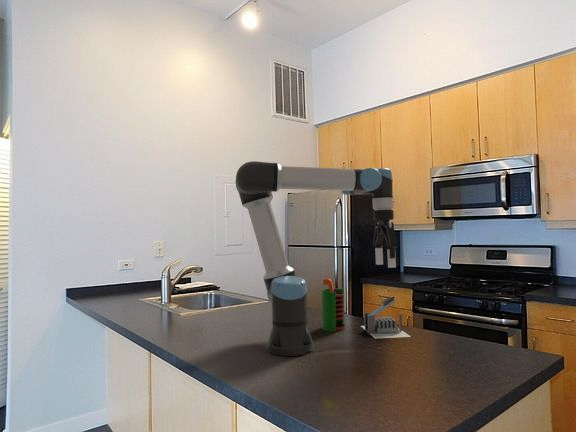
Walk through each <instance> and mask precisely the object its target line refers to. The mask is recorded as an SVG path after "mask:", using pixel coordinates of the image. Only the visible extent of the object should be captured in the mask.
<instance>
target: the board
mask: <svg viewBox="0 0 576 432" xmlns="http://www.w3.org/2000/svg"><path fill="white" fill-rule="evenodd" d="M360 327H361V328H362V329H363V330H364V331H365V325H360ZM366 333H368V331H366ZM369 335H370V336H371V337H372V338H374V339H392V338H393V339H394V338H395V339H396V338H412V337H411V335H409V334H408V333H406V332H405V331H404V330H402V331H400V330H399V333H392V334H376V333H371V334H369Z"/></svg>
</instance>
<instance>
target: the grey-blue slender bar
mask: <svg viewBox="0 0 576 432" xmlns="http://www.w3.org/2000/svg"><path fill="white" fill-rule="evenodd" d="M395 302H396V301H395V299H394V297H392V296H389V297H387V298H386V299H384V300H383V301H381V304H382V305H380V306H379V307H377V308H376V309H375V310H373V311H372V312H369V313H370V314H367V315H366V316H367V318H368V315H375V317H377V315H378V314H380V313H381V312H383V311H384V310H386V309H387V308H389V307H390V306H391V305H393V304H394V303H395Z"/></svg>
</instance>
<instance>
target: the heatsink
mask: <svg viewBox="0 0 576 432" xmlns="http://www.w3.org/2000/svg"><path fill="white" fill-rule="evenodd" d="M375 333H376V334H392V333H399V326H397V320H396V319H394V318H393V317H391V316H389V315H388V316H380V317H378V316H375Z"/></svg>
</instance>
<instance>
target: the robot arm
mask: <svg viewBox="0 0 576 432" xmlns="http://www.w3.org/2000/svg"><path fill="white" fill-rule="evenodd" d="M235 188H236V190H237V191H238V194H239V195H238V196H239V198H240V203H241V205H242V207H244V208H245V209H247V212H248V215H249V218H250V221H251V226H252V229H253V232H254V235H255V239H256V242H257V246H258V248H259V252H260V256H261V259H262V262H263V267H264V270H265V274H264V275H263V281H264V286H265V290H266V295H267V298H268V301H269V303H271V324H272V325H271V329H270V334H269V337H268V341H267V352H269V353H270V354H272V355H275V356H281V357H282V356H283V357H293V356H295V357H296V356H303V355H306V354H310V353H312V349H313V348H314V341H313V338H312V336H311V332H310V329H309V326H308V303H307V302H308V298H307V297H308V296H307V292H308V287H307V281H306V280H305V279H304V278H303V277H299V276H297V275H296V272H295V269H294V268H293V267H292V266H290V265H289V262H288V259H287V256H286V252H285V249H284V246H283V242H282V239H281V236H280V232H279V228H278V225H277V221H276V217H275V214H274V211H273V207H272V203H271V202H272V200H273V198H274V196H273V192H274V193H275V192H278V191H279V190H311V191H312V190H314V191H315V190H316V191H318V190H319V191H341V194H343V195H345V196H353V195H354V196H355V195H372V209H373V212H372V216H373V217H372V218H373V220H374V221H377V222H375V223H374V234H373V241H372V246H373V247H374V248H375V249H374V251H375V265H378V266H380V265H382V266H383V265H384V253H383V252H384V251H383V247H384V246H383V242H384V240H385V243H386V244H387V245H386V251H387V268H388V269H389V268H391V269H392V268H396V267H397V260H396V257H397V256H396V255H397V254H396V249H397V248H398V247H399V245H398V240H397V236H396V232H395V226H394V222H393V220H394V218H395V217H394V215H395V214H394V212H395V211H394V210H393V208H394V203H395V201H394V200H393V199H394V198H393V197H394V195H393V192H394V191H393V188H394V187H393V173H392V170H391V169H390V168H385V167H383V168H381V167H380V168H374V167H367V168H364V169H361V168H355V169H354V168H341V167H340V168H337V167H336V168H334V167H312V166H311V167H307V166H284V165H283V166H282V165H280V164H279V163H278V162H267V161H247V162H245V163H243V164H242V165H240V167H239V168H238V170H237V172H236V175H235Z"/></svg>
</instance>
